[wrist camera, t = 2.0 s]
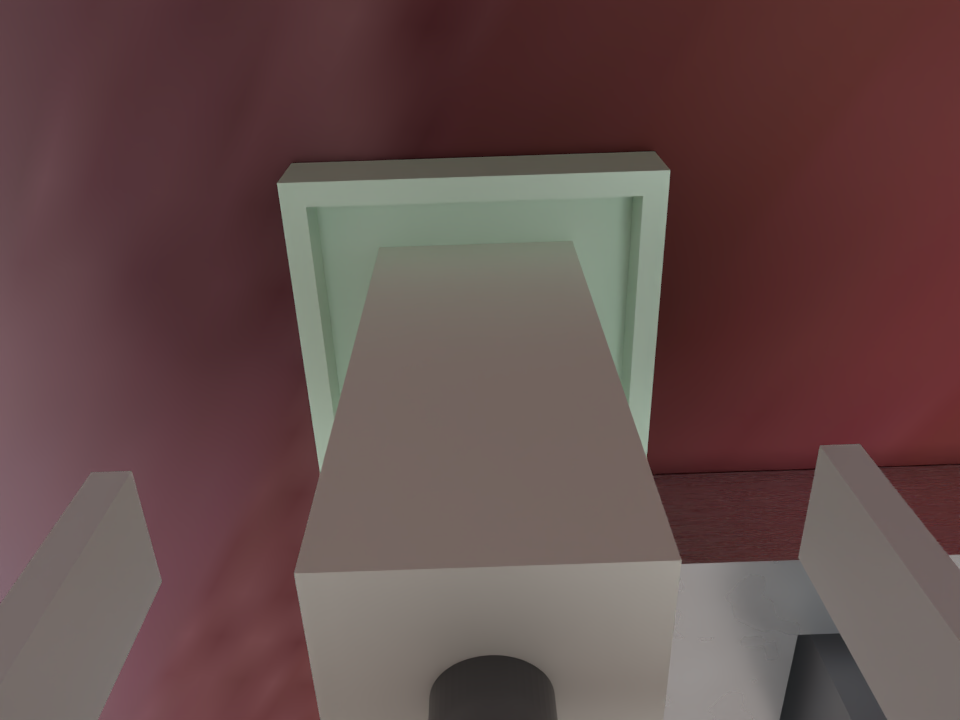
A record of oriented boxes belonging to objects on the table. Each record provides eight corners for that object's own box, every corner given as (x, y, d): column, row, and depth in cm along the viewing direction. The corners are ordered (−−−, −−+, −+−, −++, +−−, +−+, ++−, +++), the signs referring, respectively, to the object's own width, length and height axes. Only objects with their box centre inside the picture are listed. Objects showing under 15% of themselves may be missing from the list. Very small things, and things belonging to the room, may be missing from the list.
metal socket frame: (355, 485, 25) (337, 575, 22) (1027, 462, 25) (1118, 549, 22) (387, 739, 31) (377, 843, 28) (936, 720, 31) (997, 822, 28)
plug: (379, 247, 21) (251, 737, 8) (572, 241, 21) (736, 721, 8) (394, 411, 23) (311, 988, 11) (568, 405, 23) (691, 974, 11)
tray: (291, 163, 21) (276, 183, 19) (654, 151, 21) (670, 170, 19) (332, 461, 25) (323, 498, 23) (632, 451, 25) (644, 487, 23)
